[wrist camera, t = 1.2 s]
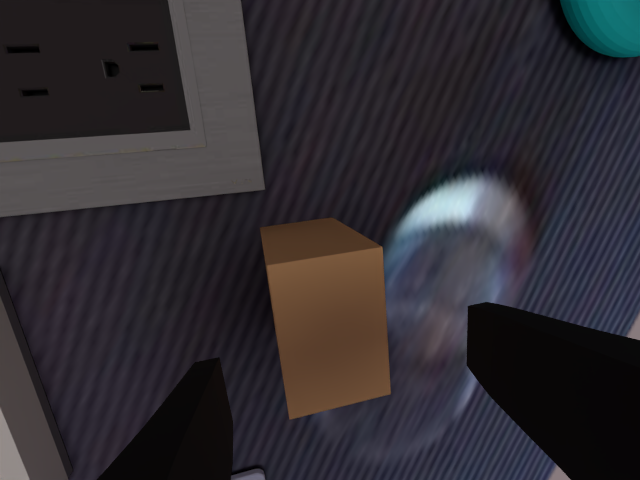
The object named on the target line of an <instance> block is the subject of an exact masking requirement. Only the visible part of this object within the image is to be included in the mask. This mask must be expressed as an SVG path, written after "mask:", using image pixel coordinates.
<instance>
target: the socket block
mask: <svg viewBox="0 0 640 480" xmlns="http://www.w3.org/2000/svg"><path fill="white" fill-rule="evenodd" d="M72 471H73V469H72V466H71V463H70V461H69V458H68V455H67V452H66V450H65V447H64V444H63V441H62V439H61V436H60V433H59V430H58V428H57V425H56V422H55V419H54V417H53V414H52V411H51V408H50V406H49V403H48V400H47V397H46V395H45V392H44V389H43V386H42V384H41V381H40V378H39V375H38V373H37V370H36V367H35V364H34V362H33V359H32V356H31V353H30V351H29V348H28V345H27V342H26V340H25V337H24V334H23V331H22V329H21V326H20V323H19V320H18V318H17V315H16V312H15V309H14V307H13V304H12V301H11V298H10V296H9V293H8V290H7V287H6V285H5V282H4V279H3V276H2V274H1V271H0V480H68V478H69V476H70V475H71V473H72Z"/></svg>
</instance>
